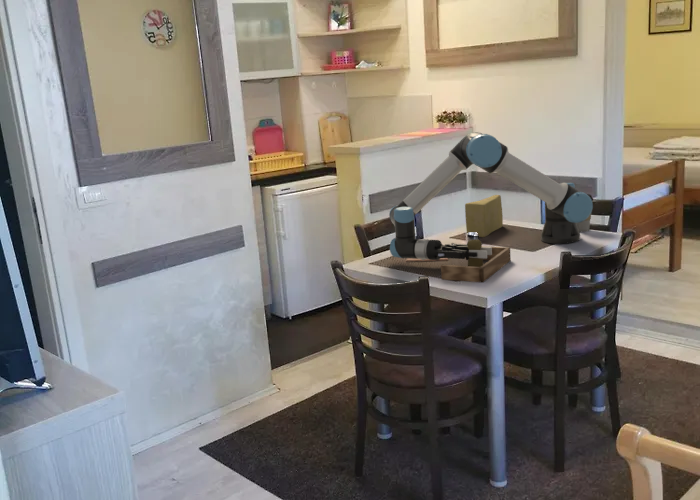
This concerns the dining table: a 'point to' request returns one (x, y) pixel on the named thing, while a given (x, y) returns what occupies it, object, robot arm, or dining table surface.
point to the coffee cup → (585, 222)
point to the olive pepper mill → (474, 246)
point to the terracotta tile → (424, 259)
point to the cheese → (484, 215)
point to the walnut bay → (478, 273)
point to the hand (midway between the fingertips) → (489, 252)
